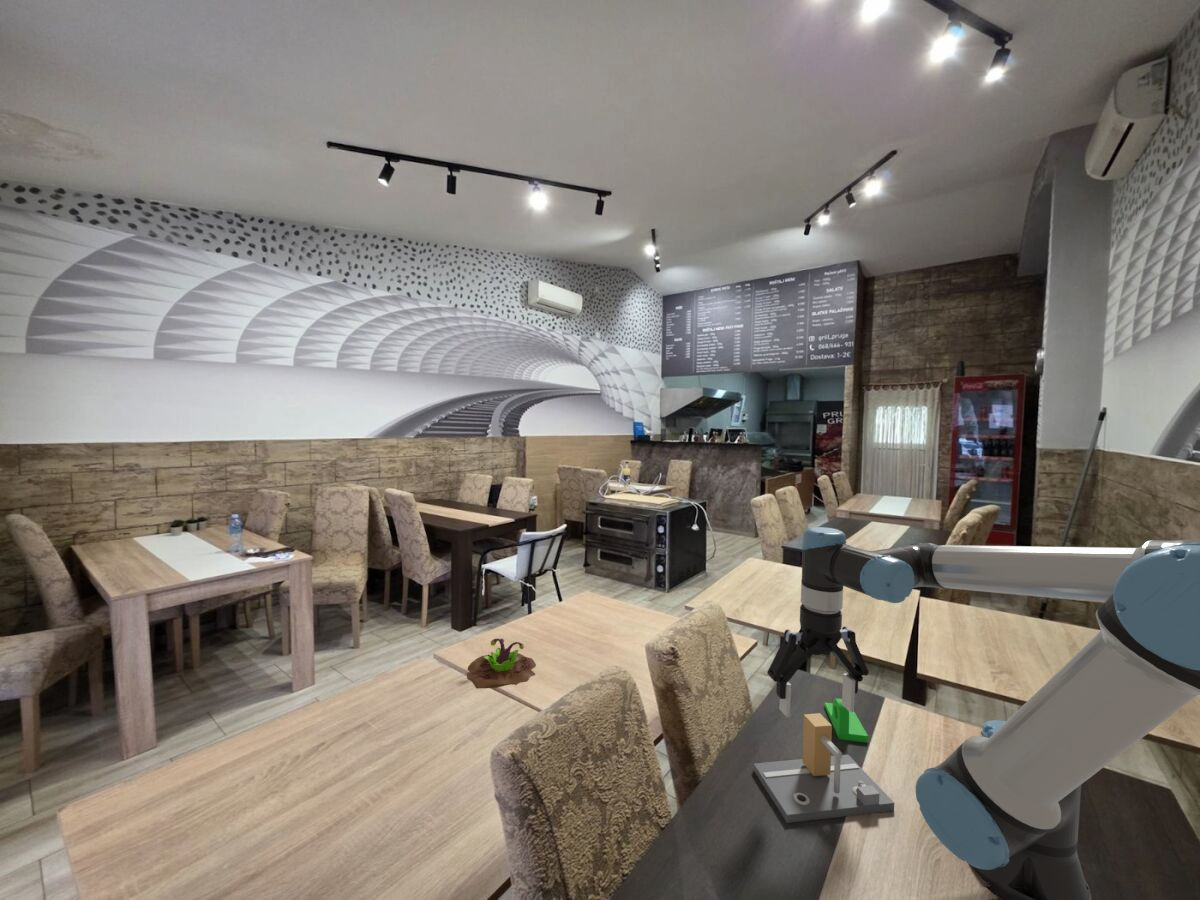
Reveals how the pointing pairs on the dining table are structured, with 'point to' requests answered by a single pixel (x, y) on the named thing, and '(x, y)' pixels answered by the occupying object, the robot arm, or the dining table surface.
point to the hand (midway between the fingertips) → (816, 710)
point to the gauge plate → (821, 790)
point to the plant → (501, 667)
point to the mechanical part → (845, 722)
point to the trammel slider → (820, 748)
